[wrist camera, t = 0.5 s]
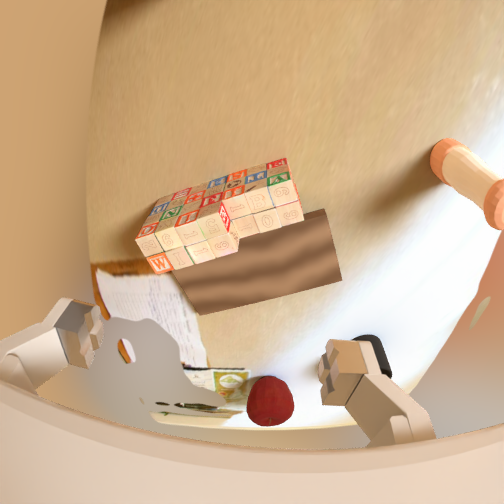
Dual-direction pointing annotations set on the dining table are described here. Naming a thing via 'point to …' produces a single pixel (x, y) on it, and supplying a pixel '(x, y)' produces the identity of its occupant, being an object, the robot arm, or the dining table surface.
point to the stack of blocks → (218, 216)
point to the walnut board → (265, 267)
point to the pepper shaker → (470, 178)
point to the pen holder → (378, 353)
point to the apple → (270, 402)
